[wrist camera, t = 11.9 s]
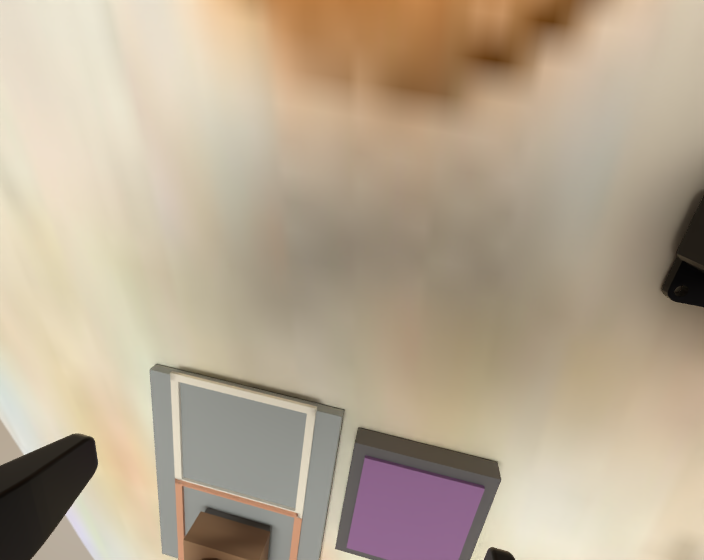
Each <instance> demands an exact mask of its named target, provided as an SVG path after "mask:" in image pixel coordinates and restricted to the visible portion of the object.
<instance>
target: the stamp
mask: <svg viewBox="0 0 704 560" xmlns="http://www.w3.org/2000/svg"><path fill="white" fill-rule="evenodd" d="M269 540H270V526H269V525H265V524H262V523H259V522H255V521H252V520H248V519H245V518H241V517H238V516H235V515H231V514H228V513H224V512H221V511H217V510H214V509H211V508H207V509H206V511H205V512H202V511H201V512H200V513H199V515H198V517H197V518H196V520H195V522H194V523H193V525H192V526H191V528H190V530H189V531H188V533H187V535H186V536H185V538H184V540H183V545H184V560H268V551H269Z"/></svg>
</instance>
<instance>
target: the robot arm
mask: <svg viewBox="0 0 704 560" xmlns="http://www.w3.org/2000/svg"><path fill="white" fill-rule="evenodd" d="M677 254H678V256H677V258H676V260H675V262H674V264H673V266H672V268H671V270H670V272H669V274H668V276H667V278H666V281H665V283H664V285H663V288H662V291H663V294H664V295H665V296H666V297H668V298H669V299H671V300H673V301H675V302H680V303H685V304H690V305H696V306H701V307H704V196H703V198H702V200H701V202H700V204H699V206H698V208H697V211H696V213H695V215H694V217H693V219H692V221H691V223H690V225H689V227H688V229H687V231H686V234H685V236H684V238H683V240H682V242H681V244H680V246H679V248H678V250H677ZM679 286H683V287H682V290H681V291H680V292H678V293H674V291H675V289H676V288H677V287H679ZM97 465H98V459H97V452H96V446H95V441H94V439H93V438H92V437H90V436H86V435H83V434H72V435H69V436H67V437H65V438H63V439H60V440H58V441H56V442H53V443H51V444H49V445H46V446H44V447H42V448H40V449H37V450H35V451H33V452H30V453H28V454H26V455H23V456H21V457H19V458H17V459H14V460H12V461H10V462H7V463H5V464H3V465H1V466H0V560H30V559H32V557H33V556H34V555H35V554H36V553H37V551H38V550H39V549H40V548H41V546H42V545H43V544H44V542H45V541H46V540H47V539H48V537H49V536H50V535H51V533H52V532H53V531H54V529H55V528H56V527H57V525H58V524H59V522H60V521H61V520H62V518H63V517H64V515H65V514H66V513H67V511H68V510H69V508H70V507H71V506H72V504H73V503H74V501H75V500H76V499H77V497H78V496H79V494H80V493H81V492H82V490H83V489H84V487H85V486H86V485H87V483H88V482H89V480H90V479H91V478H92V476H93V475H94V473H95V471H96V469H97ZM484 560H515V558H514V557H513V555H512V554H511V553H510V552H508V551H505V550H501V549H497V548H494V547H491V548H489V549H488V551H487V553H486V556H485V558H484Z"/></svg>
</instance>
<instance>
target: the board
mask: <svg viewBox="0 0 704 560" xmlns="http://www.w3.org/2000/svg"><path fill="white" fill-rule="evenodd" d="M150 382H151V397H152V411H153V426H154V440H155V455H156V469H157V484H158V499H159V513H160V528H161V542H162V554H166V555H169V556H172V557H175V558H178V560H184V545H183V540H184V538H185V536H186V535H187V533H188V531H189V530H190V528H191V526H192V525H193V523H194V522H195V520H196V518H197V517H198V515H199V513H200V512H201V511H202V512H205V511H206V509H207V508H211V509H214V510H217V511H221V512H224V513H228V514H231V515H235V516H238V517H241V518H245V519H248V520H252V521H255V522H259V523H262V524H265V525H269V526H270V540H269V551H268V560H319V559H320V553H321V547H322V541H323V535H324V529H325V523H326V517H327V511H328V505H329V499H330V493H331V487H332V481H333V475H334V469H335V463H336V457H337V451H338V445H339V439H340V433H341V427H342V421H343V414H344V410H342V409H338V408H334V407H330V406H326V405H321V404H317V403H313V402H309V401H305V400H301V399H297V398H293V397H289V396H285V395H281V394H276V393H272V392H268V391H264V390H260V389H256V388H252V387H248V386H244V385H240V384H236V383H231V382H227V381H223V380H219V379H215V378H211V377H207V376H203V375H199V374H195V373H191V372H186V371H182V370H178V369H174V368H170V367H166V366H162V365H158V364H156V365H155V366H153V367H152V368H151V369H150Z"/></svg>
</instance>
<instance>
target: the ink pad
mask: <svg viewBox="0 0 704 560" xmlns="http://www.w3.org/2000/svg"><path fill="white" fill-rule="evenodd" d="M500 482H501V477H500V472H499V467H498V463H497V462H495V461H491V460H487V459H483V458H479V457H475V456H471V455H467V454H463V453H459V452H454V451H450V450H446V449H442V448H438V447H434V446H430V445H426V444H422V443H418V442H414V441H410V440H406V439H402V438H398V437H394V436H390V435H386V434H382V433H378V432H374V431H370V430H366V429H362V428H358V432H357V436H356V440H355V445H354V450H353V456H352V461H351V466H350V472H349V477H348V482H347V488H346V493H345V499H344V504H343V509H342V515H341V520H340V525H339V531H338V536H337V542H336V547H335V549H337V550H341V551H344V552H348V553H351V554H355V555H358V556H361V557H365V558H368V559H372V560H470V558H471V556H472V553H473V551H474V548H475V546H476V543H477V540H478V538H479V535H480V533H481V530H482V528H483V525H484V523H485V520H486V517H487V515H488V512H489V510H490V507H491V505H492V502H493V500H494V497H495V494H496V492H497V489H498V487H499V484H500Z"/></svg>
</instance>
